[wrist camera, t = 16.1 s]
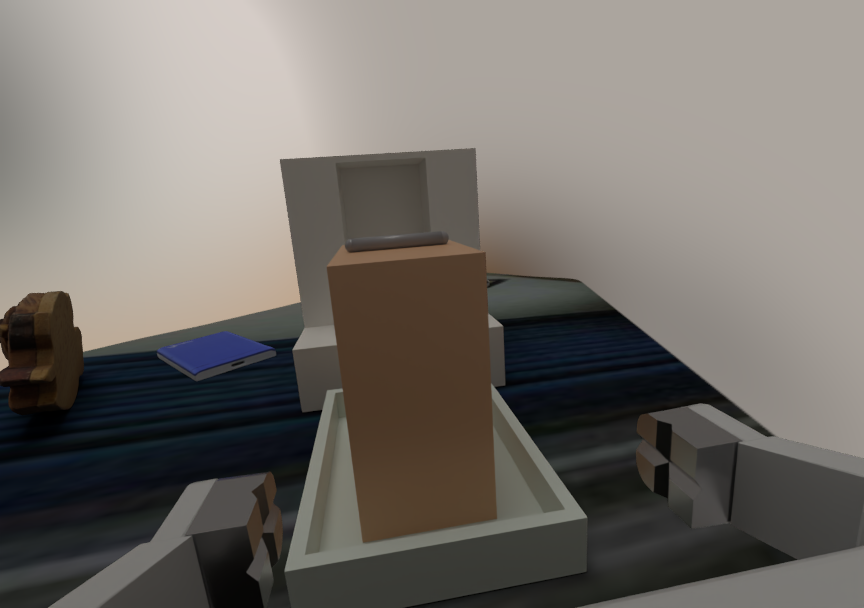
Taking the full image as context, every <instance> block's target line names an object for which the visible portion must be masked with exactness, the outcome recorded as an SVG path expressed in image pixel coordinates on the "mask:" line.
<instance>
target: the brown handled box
mask: <svg viewBox="0 0 864 608" xmlns="http://www.w3.org/2000/svg"><path fill="white" fill-rule="evenodd" d="M327 274H328V282H329V290H330V297H331V305H332V312H333V320H334V328H335V335H336V343H337V351H338V358H339V366H340V373H341V381H342V389H343V396H344V404H345V412H346V419H347V427H348V434H349V442H350V450H351V457H352V465H353V473H354V480H355V488H356V495H357V503H358V511H359V518H360V526H361V534H362V541H363V543H364V542H370V541H375V540H381V539H387V538H392V537H398V536H403V535H409V534H415V533H420V532H426V531H431V530H437V529H443V528H448V527H454V526H459V525H465V524H470V523H476V522H482V521H487V520H493V519H497V506H496V483H495V460H494V437H493V414H492V391H491V369H490V346H489V323H488V300H487V277H486V255H485V252H483V251H480V250H477V249H474V248H471V247H469V246H466V245H463V244H460V243H457V242H454V241H451V240H449V236H448V234H447V233H446V232H444V231H436V232H424V233H412V234H400V235H388V236H376V237H364V238H352V239H348V240H347V241H346V243H345V245H342V246H341V248H340V249H339V250H338V252H337V253H336V254H335V256H334V257H333V258H332V260H331V261H330V263H329V264H328V265H327Z"/></svg>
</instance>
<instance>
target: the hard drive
mask: <svg viewBox="0 0 864 608" xmlns="http://www.w3.org/2000/svg"><path fill="white" fill-rule="evenodd" d="M157 355H158V358H160V359H161V360H163V361H165V362H166V363H168V364H169V365H171V366H173V367H174V368H176V369H177V370H179V371H181V372H182V373H184V374H185V375H187V376H189V377H190V378H192V379H193V380H195V381H199V380H202V379H205V378H208V377H211V376H214V375H218V374H221V373H224V372H227V371H230V370H233V369H236V368H239V367H242V366H245V365H248V364H252V363H255V362H258V361H261V360H264V359H267V358H270V357H273V356H276V351H275V349H274V348H272V347H268V346H266V345H263V344H260V343H257V342H255V341H252V340H249V339H247V338H244V337H241V336H239V335H236V334H233V333H230V332H227V331H225V332H220V333H216V334H212V335H209V336H205V337H201V338H197V339H193V340H190V341H186V342H182V343H178V344H174V345H170V346H166V347H162V348H160V349H158V350H157Z"/></svg>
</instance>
